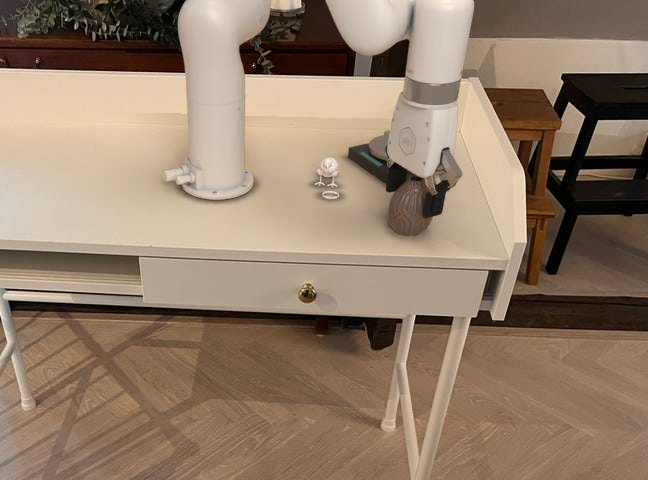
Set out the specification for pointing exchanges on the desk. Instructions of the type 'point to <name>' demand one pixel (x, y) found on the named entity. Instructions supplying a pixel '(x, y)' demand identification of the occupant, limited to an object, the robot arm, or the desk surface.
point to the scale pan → (378, 147)
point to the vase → (409, 207)
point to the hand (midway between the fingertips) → (413, 202)
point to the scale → (371, 162)
